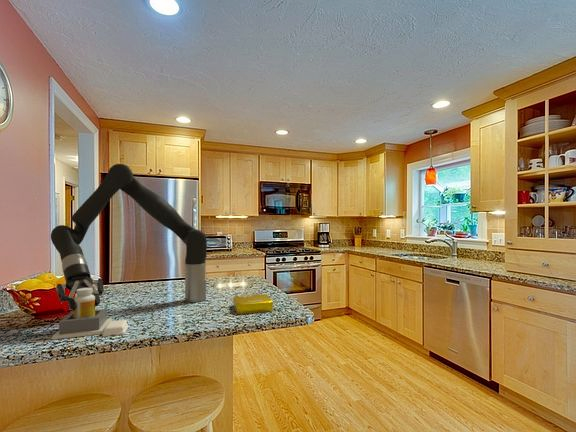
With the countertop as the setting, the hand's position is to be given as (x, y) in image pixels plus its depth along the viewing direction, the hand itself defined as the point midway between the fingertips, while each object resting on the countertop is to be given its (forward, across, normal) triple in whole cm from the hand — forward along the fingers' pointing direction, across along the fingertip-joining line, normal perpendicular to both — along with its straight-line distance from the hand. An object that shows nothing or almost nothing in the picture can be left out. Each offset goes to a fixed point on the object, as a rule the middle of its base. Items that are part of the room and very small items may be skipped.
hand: (86, 307), depth 103 cm
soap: (+12, +6, 0) cm, 14 cm away
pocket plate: (+5, 0, +7) cm, 8 cm away
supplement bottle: (+3, 0, +5) cm, 6 cm away
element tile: (+24, +55, -12) cm, 61 cm away
